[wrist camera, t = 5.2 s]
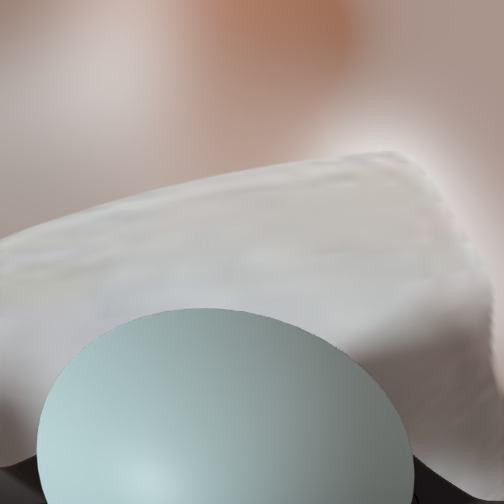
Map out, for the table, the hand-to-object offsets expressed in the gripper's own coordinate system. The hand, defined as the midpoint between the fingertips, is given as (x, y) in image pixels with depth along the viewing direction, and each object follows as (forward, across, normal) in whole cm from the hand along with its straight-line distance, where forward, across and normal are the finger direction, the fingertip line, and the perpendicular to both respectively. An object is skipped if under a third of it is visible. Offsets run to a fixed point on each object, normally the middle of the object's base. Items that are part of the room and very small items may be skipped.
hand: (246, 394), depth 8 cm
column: (+4, 0, +6) cm, 7 cm away
